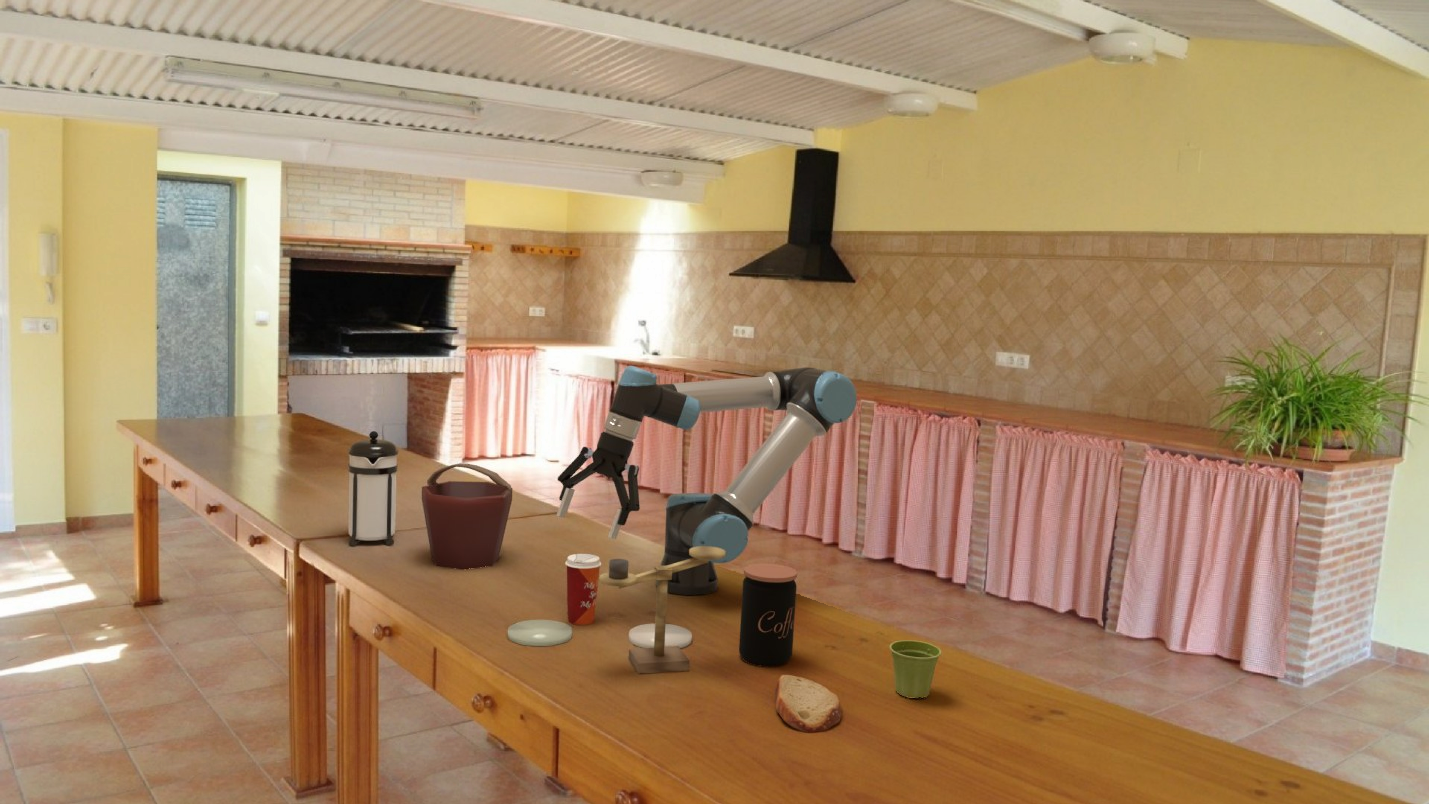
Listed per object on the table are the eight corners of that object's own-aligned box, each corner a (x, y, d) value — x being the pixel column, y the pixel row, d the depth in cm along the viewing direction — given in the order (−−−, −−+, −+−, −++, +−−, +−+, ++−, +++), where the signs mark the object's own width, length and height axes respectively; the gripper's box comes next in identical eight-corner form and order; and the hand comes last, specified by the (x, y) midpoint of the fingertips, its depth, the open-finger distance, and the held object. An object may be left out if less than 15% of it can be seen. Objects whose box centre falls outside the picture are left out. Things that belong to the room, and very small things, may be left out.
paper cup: (592, 628, 221) (595, 563, 219) (557, 624, 222) (560, 560, 221) (603, 617, 228) (606, 554, 227) (570, 613, 230) (572, 551, 228)
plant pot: (927, 708, 188) (930, 661, 187) (878, 695, 192) (881, 649, 192) (945, 692, 195) (948, 647, 194) (897, 680, 200) (901, 636, 199)
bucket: (528, 564, 268) (532, 467, 265) (456, 579, 251) (459, 476, 248) (470, 545, 283) (472, 454, 280) (398, 558, 266) (400, 461, 264)
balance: (712, 653, 209) (718, 545, 207) (724, 668, 202) (731, 555, 199) (592, 660, 202) (596, 548, 199) (600, 676, 194) (605, 559, 192)
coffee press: (415, 540, 285) (417, 431, 282) (367, 551, 271) (369, 437, 268) (372, 529, 294) (374, 424, 291) (324, 539, 281) (326, 429, 277)
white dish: (681, 627, 224) (682, 622, 224) (699, 648, 212) (699, 642, 212) (622, 630, 220) (622, 625, 220) (636, 651, 208) (637, 646, 208)
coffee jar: (755, 670, 201) (760, 580, 199) (728, 652, 211) (734, 565, 209) (802, 664, 206) (807, 575, 204) (774, 646, 216) (779, 561, 214)
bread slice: (789, 681, 198) (790, 662, 197) (871, 710, 186) (872, 689, 186) (729, 707, 184) (730, 687, 184) (813, 739, 173) (815, 718, 172)
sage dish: (566, 623, 223) (566, 618, 222) (576, 644, 210) (577, 638, 210) (504, 626, 219) (504, 621, 219) (511, 648, 206) (511, 642, 206)
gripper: (563, 415, 230) (531, 506, 229) (660, 451, 220) (626, 546, 220) (580, 420, 237) (548, 509, 236) (674, 455, 227) (641, 547, 227)
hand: (585, 527), depth 228 cm, fingers open, 13 cm apart
